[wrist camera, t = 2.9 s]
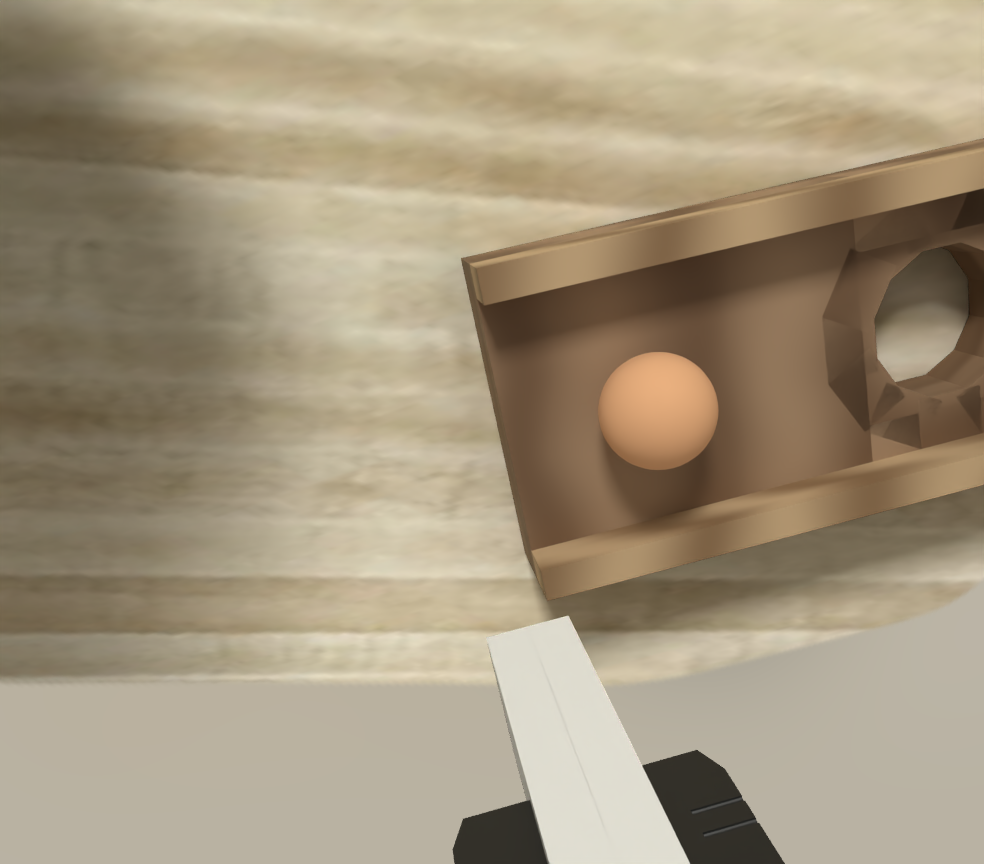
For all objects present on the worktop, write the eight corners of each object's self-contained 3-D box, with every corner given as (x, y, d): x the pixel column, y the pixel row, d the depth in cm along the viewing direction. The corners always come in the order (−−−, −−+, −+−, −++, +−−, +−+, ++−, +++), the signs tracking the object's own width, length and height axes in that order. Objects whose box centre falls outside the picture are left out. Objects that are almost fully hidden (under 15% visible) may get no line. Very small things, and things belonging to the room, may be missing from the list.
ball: (595, 462, 31) (628, 499, 27) (576, 357, 30) (607, 381, 26) (699, 435, 31) (745, 469, 28) (683, 331, 30) (730, 351, 26)
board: (525, 552, 34) (547, 600, 30) (460, 258, 31) (476, 268, 27) (1064, 411, 36) (1154, 439, 32) (1062, 120, 33) (1162, 110, 29)
